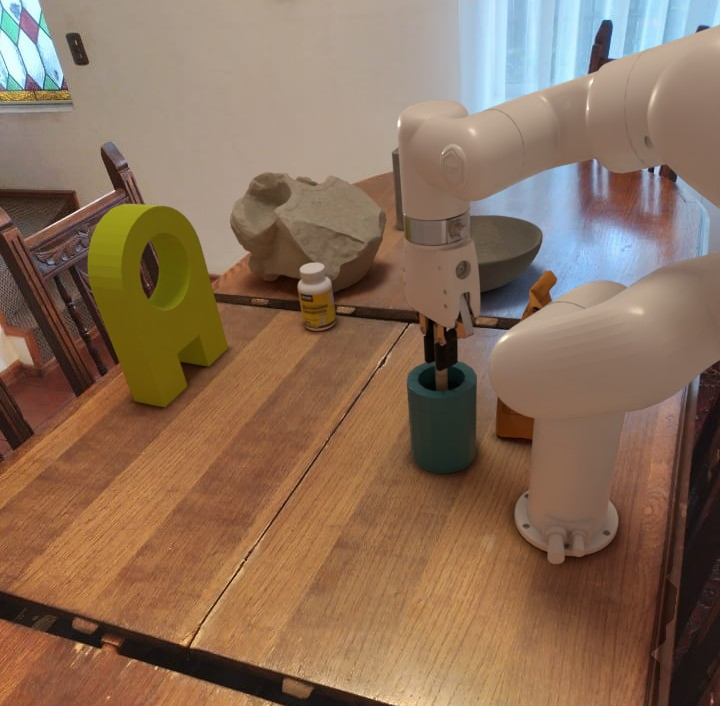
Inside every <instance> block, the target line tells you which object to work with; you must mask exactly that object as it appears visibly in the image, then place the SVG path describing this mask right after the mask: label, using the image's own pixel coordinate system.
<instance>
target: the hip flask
mask: <svg viewBox="0 0 720 706" xmlns="http://www.w3.org/2000/svg"><path fill="white" fill-rule="evenodd" d="M391 161H392V176H393V177H392V178H393V189H394V192H393V193H394V201H395V202H394V205H395V219H396V229H397V230H399V231H404V224H403V208H402V193H401V177H400V162H399V147H398V146H397V147H396V148H395V149H394V150H393V151H391Z"/></svg>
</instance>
